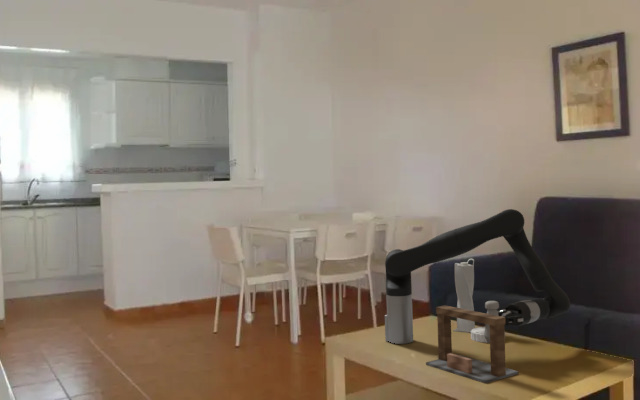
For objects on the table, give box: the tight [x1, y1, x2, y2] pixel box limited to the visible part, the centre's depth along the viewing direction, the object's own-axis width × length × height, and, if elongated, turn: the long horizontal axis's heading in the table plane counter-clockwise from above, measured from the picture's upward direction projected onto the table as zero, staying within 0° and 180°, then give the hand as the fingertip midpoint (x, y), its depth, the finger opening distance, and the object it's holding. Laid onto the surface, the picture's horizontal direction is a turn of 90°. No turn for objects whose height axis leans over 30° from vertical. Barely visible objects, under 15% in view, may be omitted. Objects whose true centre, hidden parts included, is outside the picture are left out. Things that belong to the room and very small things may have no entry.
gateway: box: [425, 304, 519, 384], centre depth 208 cm, size 25×14×18 cm, turn 34°
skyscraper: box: [452, 258, 476, 334], centre depth 258 cm, size 8×8×28 cm
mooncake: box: [470, 326, 488, 344], centre depth 245 cm, size 12×12×4 cm
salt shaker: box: [484, 300, 500, 344], centre depth 213 cm, size 6×6×13 cm
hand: (486, 321), depth 212 cm, fingers closed on salt shaker, 3 cm apart
